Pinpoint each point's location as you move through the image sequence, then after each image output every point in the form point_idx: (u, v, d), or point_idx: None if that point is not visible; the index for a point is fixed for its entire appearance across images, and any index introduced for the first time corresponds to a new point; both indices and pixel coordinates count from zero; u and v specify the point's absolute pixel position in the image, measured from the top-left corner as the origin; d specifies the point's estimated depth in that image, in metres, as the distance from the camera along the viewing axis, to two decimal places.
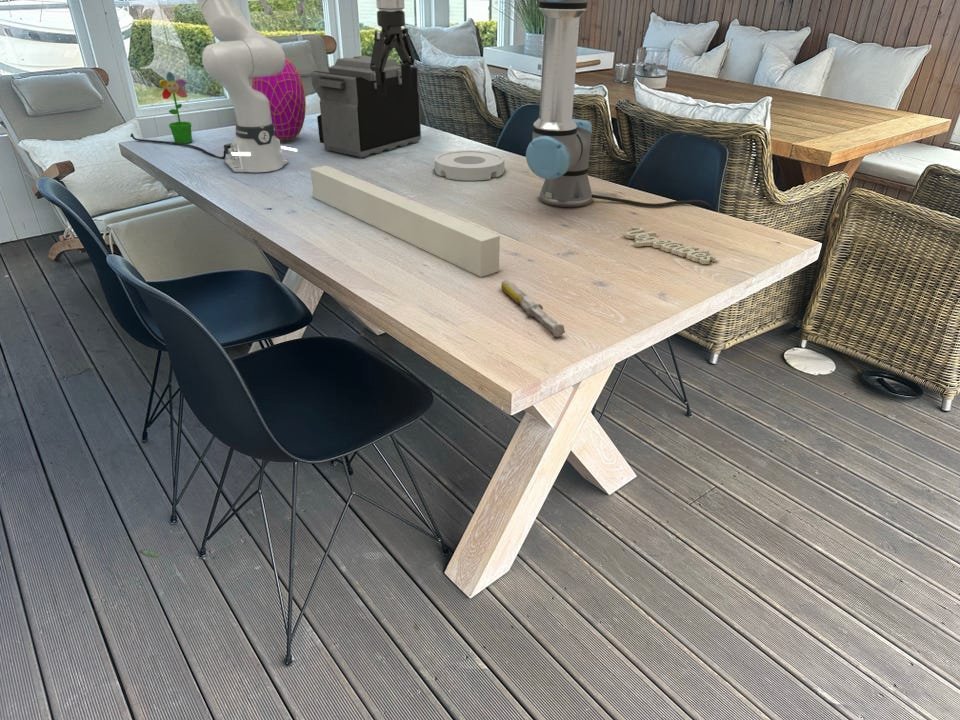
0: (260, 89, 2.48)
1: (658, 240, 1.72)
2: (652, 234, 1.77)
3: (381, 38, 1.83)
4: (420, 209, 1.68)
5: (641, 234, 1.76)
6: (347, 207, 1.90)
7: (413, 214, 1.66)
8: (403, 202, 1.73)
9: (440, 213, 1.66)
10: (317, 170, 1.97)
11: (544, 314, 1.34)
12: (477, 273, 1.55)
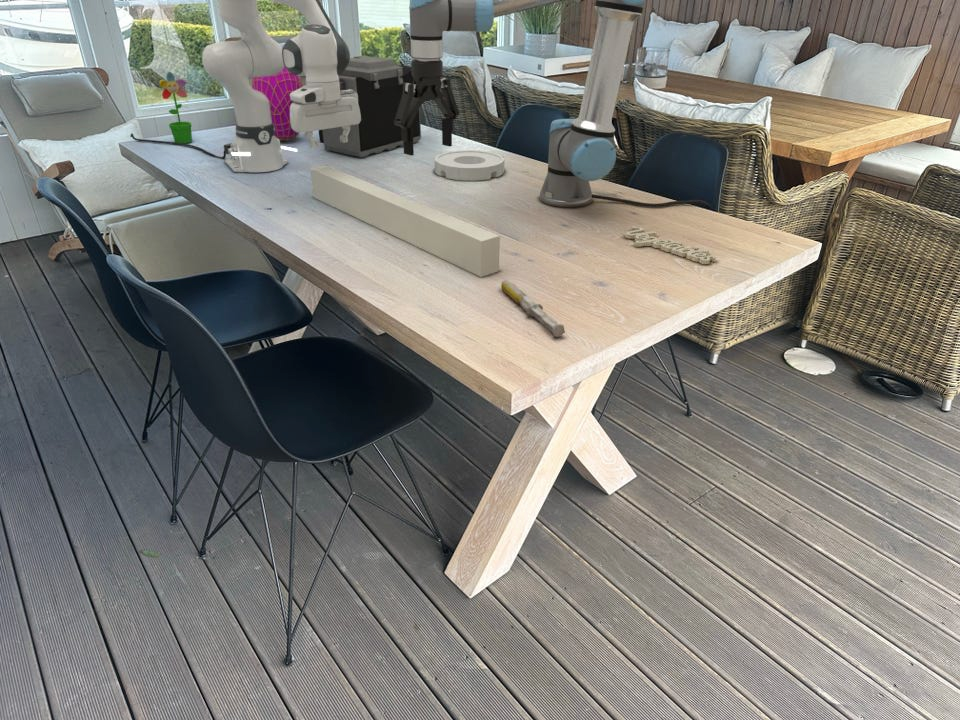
0: (260, 89, 2.48)
1: (658, 240, 1.72)
2: (652, 234, 1.77)
3: (409, 91, 1.61)
4: (420, 209, 1.68)
5: (641, 234, 1.76)
6: (347, 207, 1.90)
7: (413, 214, 1.66)
8: (403, 202, 1.73)
9: (440, 213, 1.66)
10: (317, 170, 1.97)
11: (544, 314, 1.34)
12: (477, 273, 1.55)
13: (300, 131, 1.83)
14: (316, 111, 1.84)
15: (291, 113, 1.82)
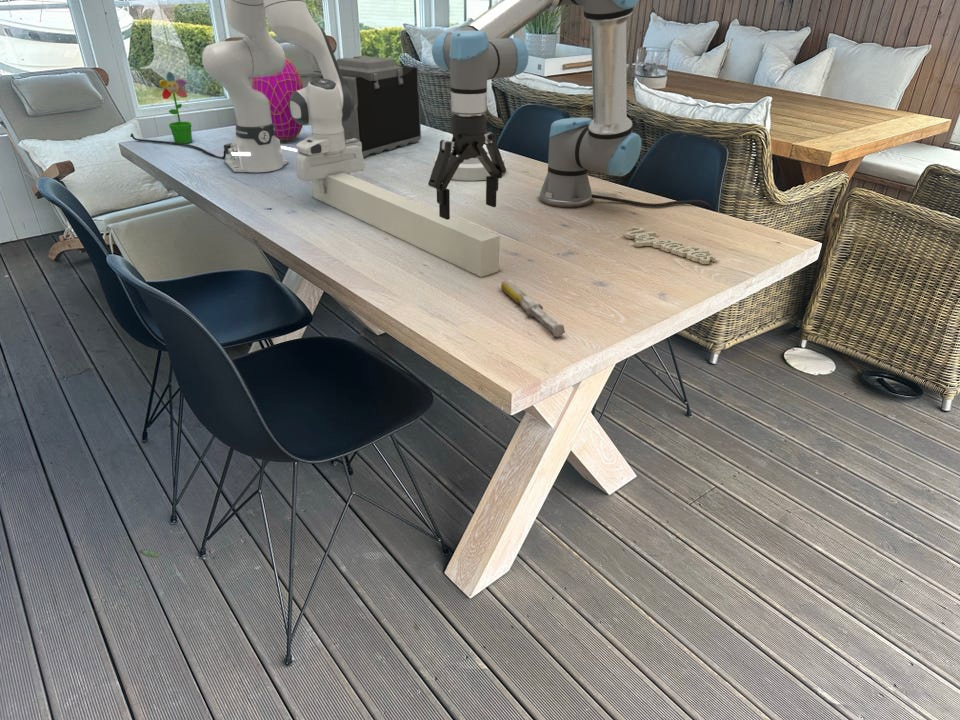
0: (260, 89, 2.48)
1: (658, 240, 1.72)
2: (652, 234, 1.77)
3: (445, 149, 1.42)
4: (420, 209, 1.68)
5: (641, 234, 1.76)
6: (347, 207, 1.90)
7: (413, 214, 1.66)
8: (403, 202, 1.73)
9: None
10: None
11: (544, 314, 1.34)
12: (477, 273, 1.55)
13: (306, 180, 1.89)
14: (322, 161, 1.90)
15: (297, 163, 1.88)
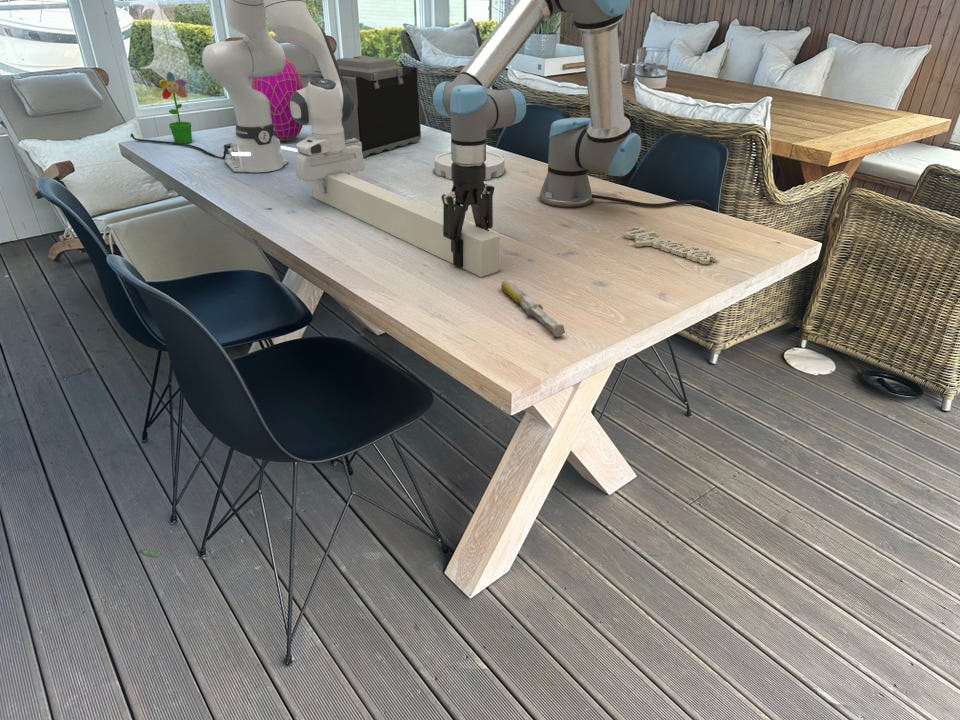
0: (260, 89, 2.48)
1: (658, 240, 1.72)
2: (652, 234, 1.77)
3: (448, 204, 1.48)
4: (420, 209, 1.68)
5: (641, 234, 1.76)
6: (347, 207, 1.90)
7: (413, 214, 1.66)
8: (403, 202, 1.73)
9: (440, 213, 1.66)
10: None
11: (544, 314, 1.34)
12: (477, 273, 1.55)
13: (306, 180, 1.89)
14: (322, 161, 1.90)
15: (297, 163, 1.88)
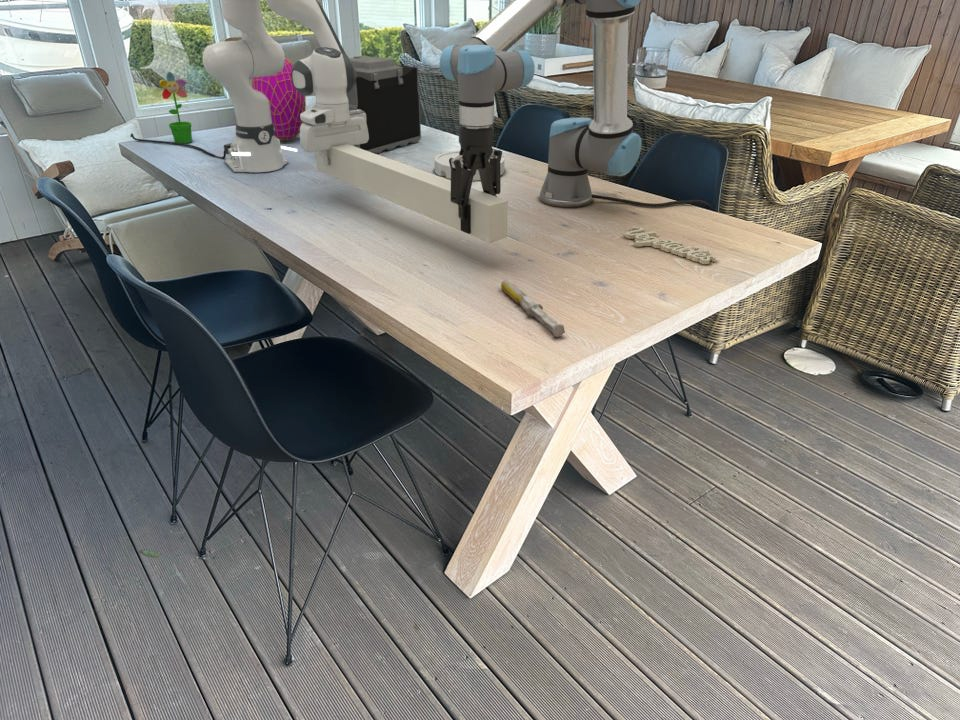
0: (260, 89, 2.48)
1: (658, 240, 1.72)
2: (652, 234, 1.77)
3: (456, 168, 1.46)
4: (426, 177, 1.66)
5: (641, 234, 1.76)
6: (352, 178, 1.88)
7: (419, 182, 1.64)
8: (408, 170, 1.71)
9: (446, 180, 1.64)
10: None
11: (544, 314, 1.34)
12: (485, 239, 1.53)
13: (310, 151, 1.87)
14: (326, 132, 1.88)
15: (301, 133, 1.86)
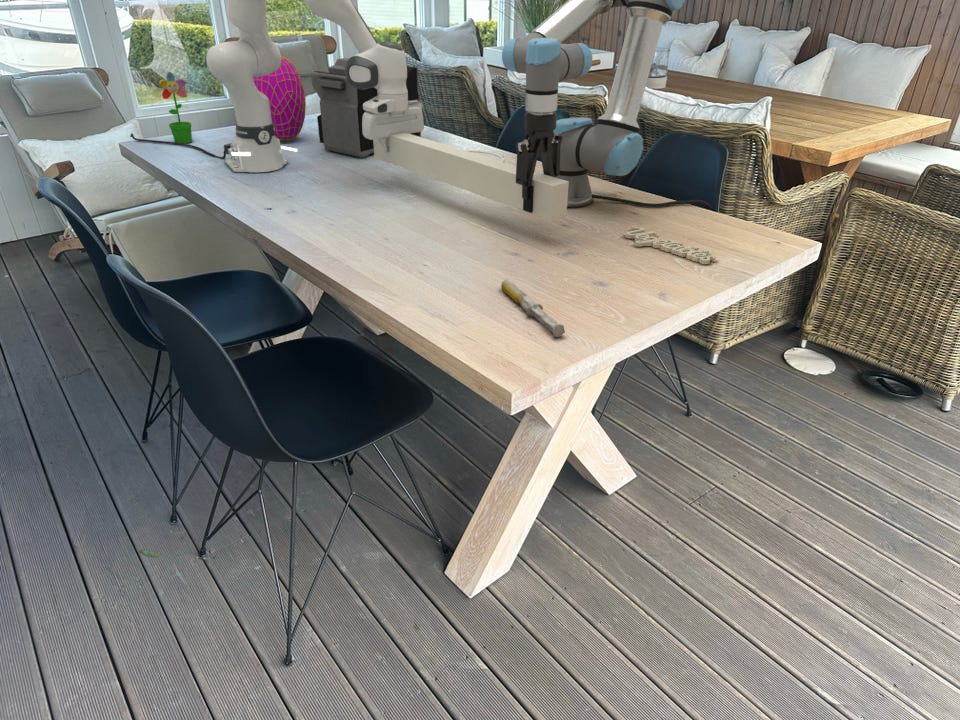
0: (260, 89, 2.48)
1: (658, 240, 1.72)
2: (652, 234, 1.77)
3: (522, 151, 1.60)
4: (488, 161, 1.79)
5: (641, 234, 1.76)
6: (411, 164, 2.01)
7: (481, 166, 1.78)
8: (469, 155, 1.84)
9: (507, 164, 1.77)
10: None
11: (544, 314, 1.34)
12: (547, 217, 1.66)
13: (371, 138, 2.00)
14: (386, 120, 2.01)
15: (364, 121, 1.99)
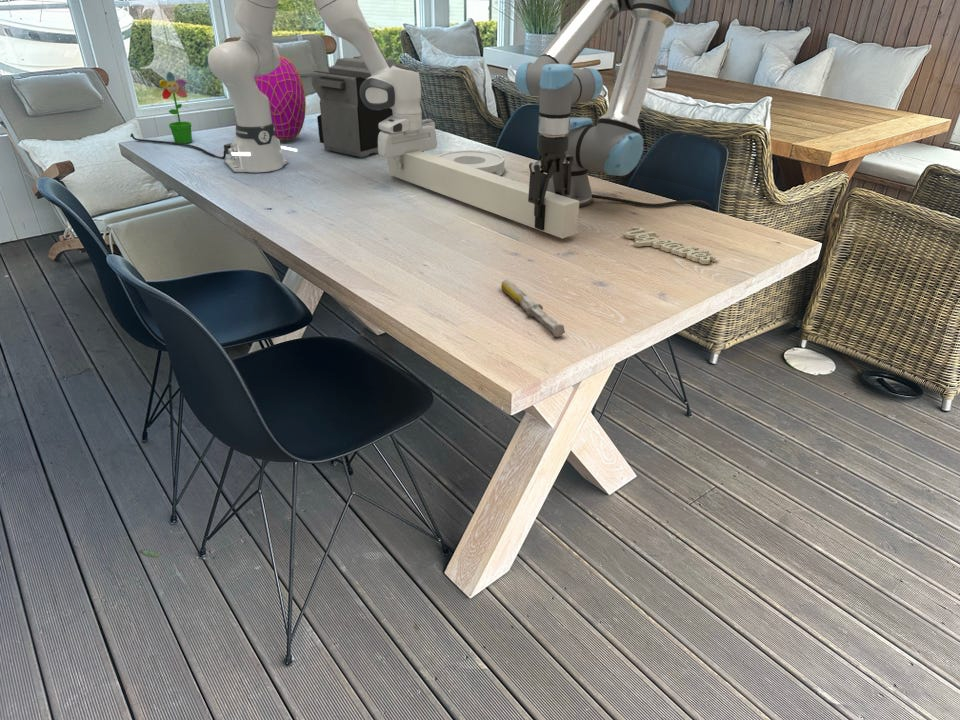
0: (260, 89, 2.48)
1: (658, 240, 1.72)
2: (652, 234, 1.77)
3: (535, 172, 1.66)
4: (500, 180, 1.85)
5: (641, 234, 1.76)
6: (425, 182, 2.07)
7: (494, 184, 1.84)
8: (482, 174, 1.90)
9: (519, 183, 1.83)
10: None
11: (544, 314, 1.34)
12: (558, 235, 1.72)
13: (387, 156, 2.07)
14: (401, 139, 2.08)
15: (379, 140, 2.06)
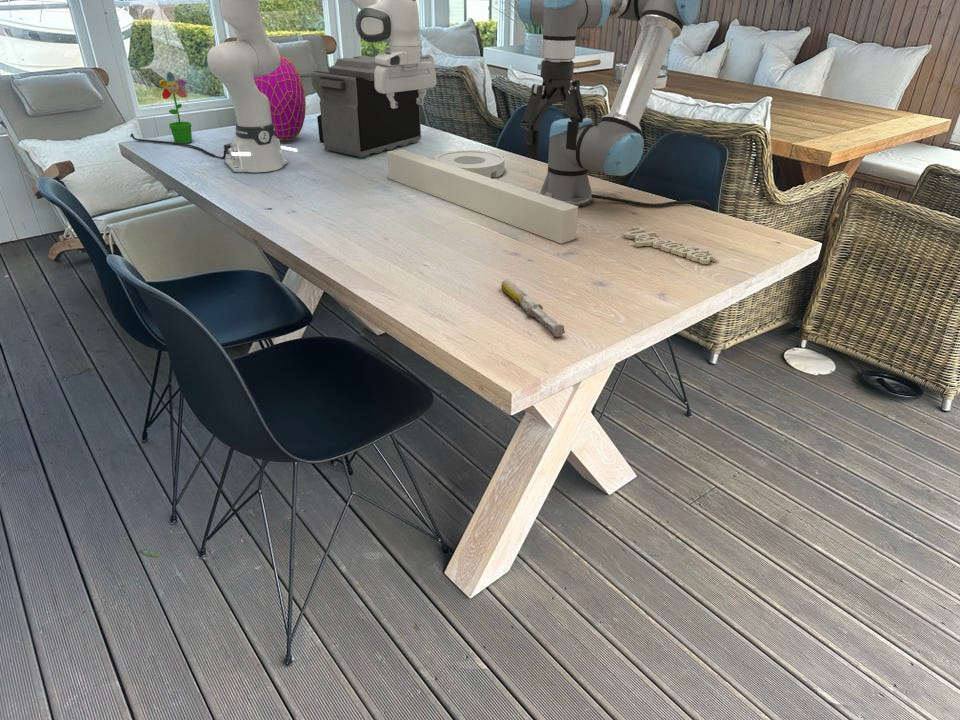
0: (260, 89, 2.48)
1: (658, 240, 1.72)
2: (652, 234, 1.77)
3: (537, 92, 1.56)
4: (500, 185, 1.86)
5: (641, 234, 1.76)
6: (424, 186, 2.08)
7: (493, 189, 1.85)
8: (482, 179, 1.91)
9: (519, 188, 1.84)
10: (394, 153, 2.15)
11: (544, 314, 1.34)
12: (557, 240, 1.73)
13: (384, 92, 1.97)
14: (398, 74, 1.98)
15: (376, 75, 1.96)
